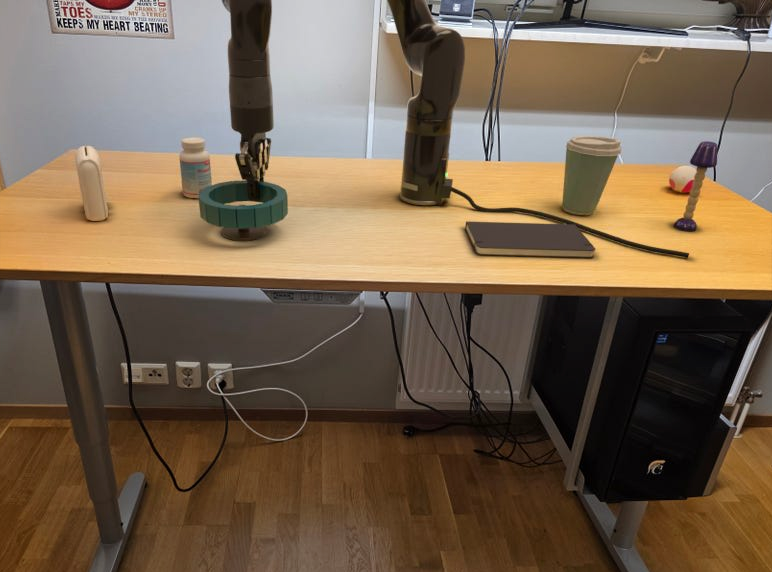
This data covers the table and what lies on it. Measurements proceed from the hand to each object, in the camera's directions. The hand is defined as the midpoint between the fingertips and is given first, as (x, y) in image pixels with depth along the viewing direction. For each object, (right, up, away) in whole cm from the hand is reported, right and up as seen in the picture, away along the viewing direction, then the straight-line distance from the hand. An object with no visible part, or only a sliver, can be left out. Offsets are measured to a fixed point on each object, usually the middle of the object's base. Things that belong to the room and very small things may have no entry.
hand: (256, 197), depth 124 cm
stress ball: (+95, +8, +27) cm, 99 cm away
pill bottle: (-14, +4, +14) cm, 20 cm away
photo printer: (-31, -3, +3) cm, 32 cm away
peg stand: (-2, -7, -3) cm, 8 cm away
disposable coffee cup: (+66, 0, +14) cm, 67 cm away
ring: (-1, -4, -5) cm, 7 cm away
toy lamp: (+85, -4, +7) cm, 85 cm away
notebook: (+51, -9, -3) cm, 52 cm away
